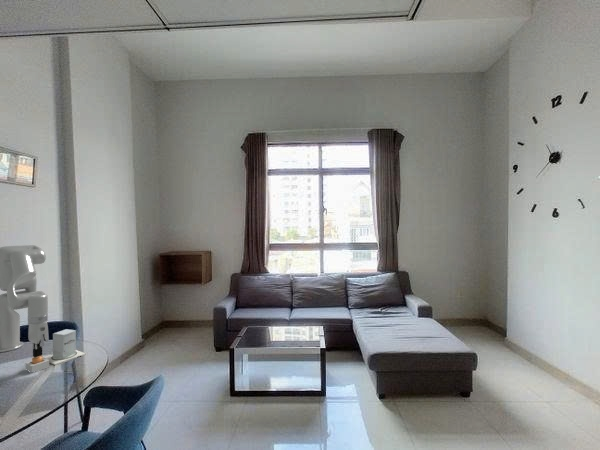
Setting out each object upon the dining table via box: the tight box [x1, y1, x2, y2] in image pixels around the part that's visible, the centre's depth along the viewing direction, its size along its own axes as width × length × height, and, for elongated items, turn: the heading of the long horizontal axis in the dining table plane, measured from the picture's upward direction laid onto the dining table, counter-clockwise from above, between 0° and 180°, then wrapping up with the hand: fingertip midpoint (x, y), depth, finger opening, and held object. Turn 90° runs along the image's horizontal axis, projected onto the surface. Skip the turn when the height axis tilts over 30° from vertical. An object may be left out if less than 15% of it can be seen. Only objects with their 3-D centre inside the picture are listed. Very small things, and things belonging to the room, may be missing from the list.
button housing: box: [24, 358, 50, 373], centre depth 152 cm, size 7×7×4 cm
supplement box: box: [52, 328, 77, 358], centre depth 165 cm, size 7×7×13 cm
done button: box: [31, 355, 44, 364], centre depth 152 cm, size 4×4×3 cm
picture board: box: [43, 349, 86, 366], centre depth 165 cm, size 14×14×1 cm
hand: (37, 355), depth 151 cm, fingers closed
